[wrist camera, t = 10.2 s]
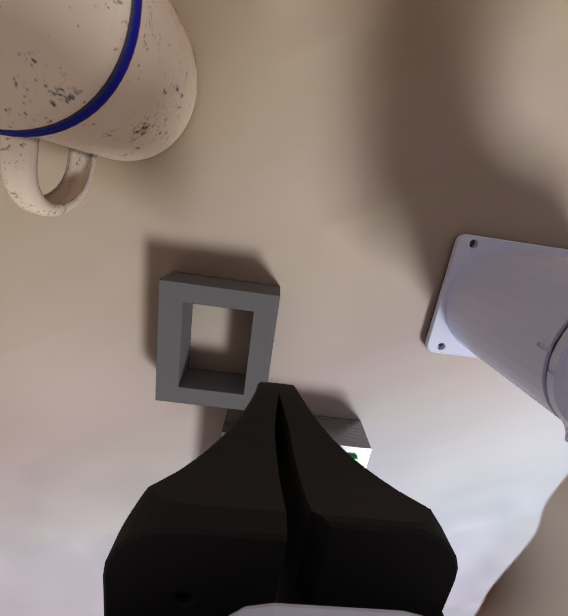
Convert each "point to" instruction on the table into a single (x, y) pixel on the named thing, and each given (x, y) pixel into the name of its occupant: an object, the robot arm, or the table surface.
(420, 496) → the table surface
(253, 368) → the grey hollow square frame
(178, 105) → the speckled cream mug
